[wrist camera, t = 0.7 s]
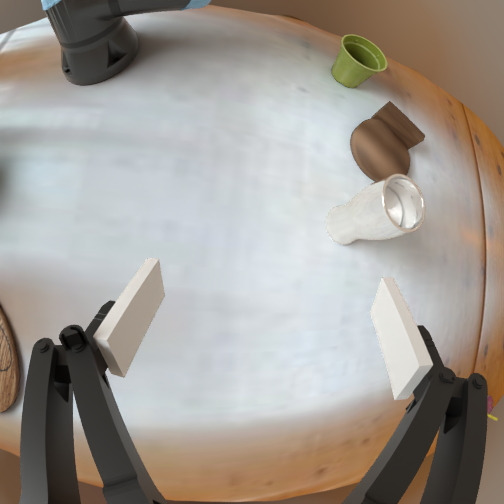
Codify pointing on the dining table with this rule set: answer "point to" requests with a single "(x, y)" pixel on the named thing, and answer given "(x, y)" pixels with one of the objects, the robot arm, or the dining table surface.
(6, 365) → the trivet
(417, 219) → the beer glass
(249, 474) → the dining table surface
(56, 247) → the dining table surface
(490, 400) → the cupcake
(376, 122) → the walnut base
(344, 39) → the plant pot
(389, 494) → the robot arm
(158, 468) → the dining table surface
